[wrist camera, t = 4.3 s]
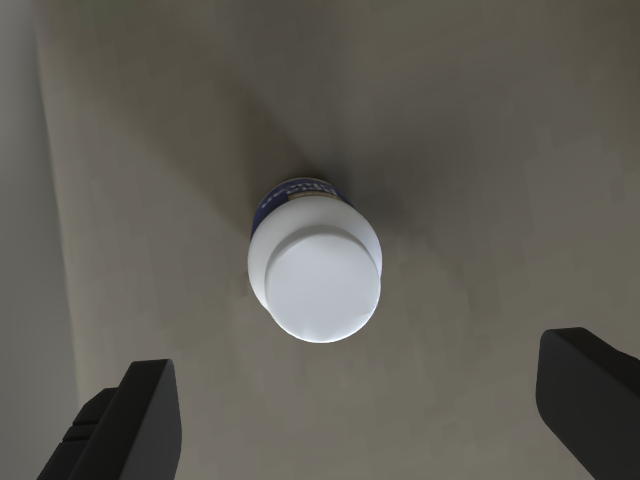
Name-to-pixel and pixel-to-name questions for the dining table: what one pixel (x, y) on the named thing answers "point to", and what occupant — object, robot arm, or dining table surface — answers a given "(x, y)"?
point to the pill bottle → (314, 261)
